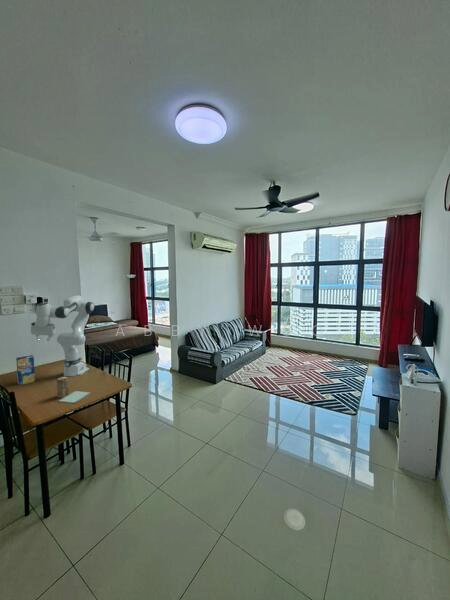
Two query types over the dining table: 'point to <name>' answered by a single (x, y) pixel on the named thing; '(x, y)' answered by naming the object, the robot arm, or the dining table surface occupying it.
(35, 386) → the dining table surface
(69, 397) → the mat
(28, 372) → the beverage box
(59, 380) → the block
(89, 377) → the dining table surface
